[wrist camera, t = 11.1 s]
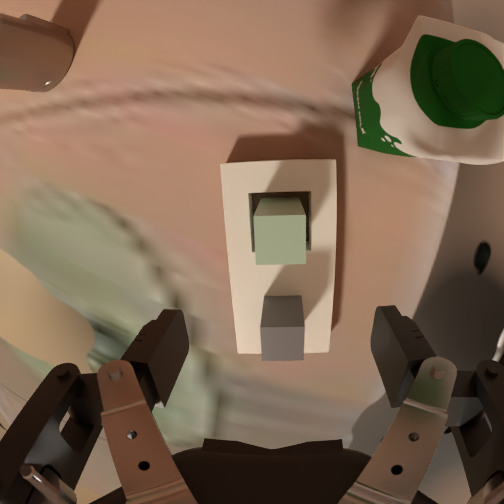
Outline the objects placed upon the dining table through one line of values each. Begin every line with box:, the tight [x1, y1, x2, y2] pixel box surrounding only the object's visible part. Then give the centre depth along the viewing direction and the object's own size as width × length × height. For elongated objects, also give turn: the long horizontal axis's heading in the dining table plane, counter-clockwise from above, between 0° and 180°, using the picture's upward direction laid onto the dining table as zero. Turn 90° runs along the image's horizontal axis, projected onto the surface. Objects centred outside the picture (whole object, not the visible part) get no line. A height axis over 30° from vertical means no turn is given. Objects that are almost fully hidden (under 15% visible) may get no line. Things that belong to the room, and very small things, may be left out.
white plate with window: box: [220, 159, 337, 361], centre depth 29 cm, size 22×11×9 cm, turn 3°
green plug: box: [253, 197, 306, 265], centre depth 27 cm, size 4×4×9 cm
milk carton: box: [352, 15, 504, 165], centre depth 17 cm, size 9×9×20 cm
